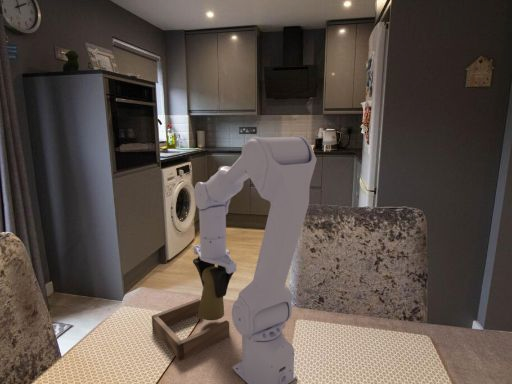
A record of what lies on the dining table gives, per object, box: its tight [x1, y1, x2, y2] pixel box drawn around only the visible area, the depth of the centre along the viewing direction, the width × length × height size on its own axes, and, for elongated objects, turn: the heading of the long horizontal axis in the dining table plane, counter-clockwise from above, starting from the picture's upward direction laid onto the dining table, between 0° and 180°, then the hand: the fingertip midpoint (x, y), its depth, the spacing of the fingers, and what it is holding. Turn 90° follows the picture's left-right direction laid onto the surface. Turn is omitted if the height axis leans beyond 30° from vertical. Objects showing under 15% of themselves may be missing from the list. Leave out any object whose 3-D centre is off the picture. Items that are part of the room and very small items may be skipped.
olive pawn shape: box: [197, 265, 225, 321], centre depth 77 cm, size 6×6×11 cm
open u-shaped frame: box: [151, 298, 230, 361], centre depth 74 cm, size 13×12×4 cm
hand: (214, 291), depth 77 cm, fingers closed on olive pawn shape, 5 cm apart
